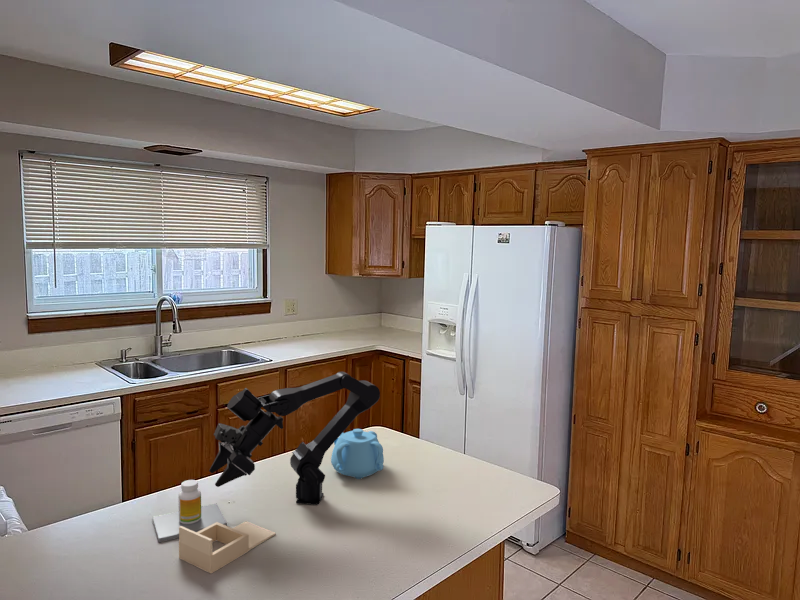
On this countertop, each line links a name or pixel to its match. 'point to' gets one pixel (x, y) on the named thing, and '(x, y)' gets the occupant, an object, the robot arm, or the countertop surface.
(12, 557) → the countertop surface
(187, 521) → the supplement bottle
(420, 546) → the countertop surface
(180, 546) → the carton
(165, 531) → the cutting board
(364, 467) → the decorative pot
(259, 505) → the countertop surface
